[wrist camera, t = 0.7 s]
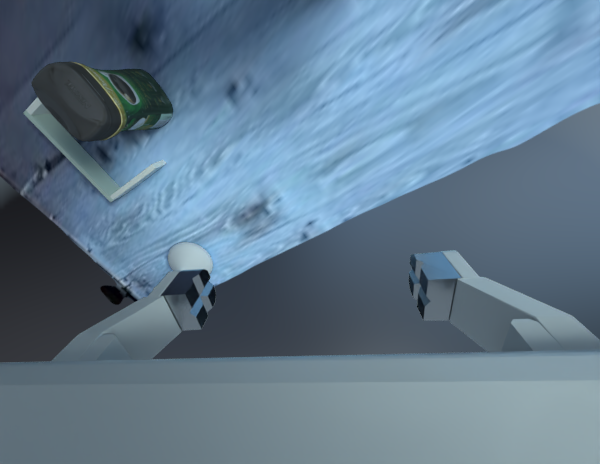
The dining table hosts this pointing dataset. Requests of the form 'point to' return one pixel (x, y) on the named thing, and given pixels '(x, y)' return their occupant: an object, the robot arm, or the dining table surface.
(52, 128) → the report bay
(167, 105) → the coffee jar
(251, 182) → the dining table surface
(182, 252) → the flower in vase
